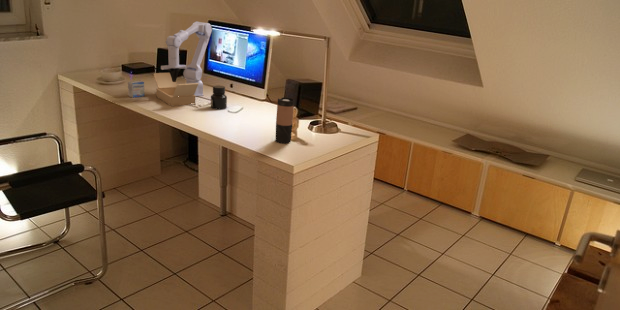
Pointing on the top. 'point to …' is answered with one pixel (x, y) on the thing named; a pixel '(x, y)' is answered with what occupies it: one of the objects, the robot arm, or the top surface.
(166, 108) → the top surface
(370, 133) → the top surface
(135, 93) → the medicine box
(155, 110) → the top surface
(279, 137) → the travel mug
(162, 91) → the carton
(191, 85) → the flap
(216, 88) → the ink bottle
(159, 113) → the top surface
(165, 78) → the flap
